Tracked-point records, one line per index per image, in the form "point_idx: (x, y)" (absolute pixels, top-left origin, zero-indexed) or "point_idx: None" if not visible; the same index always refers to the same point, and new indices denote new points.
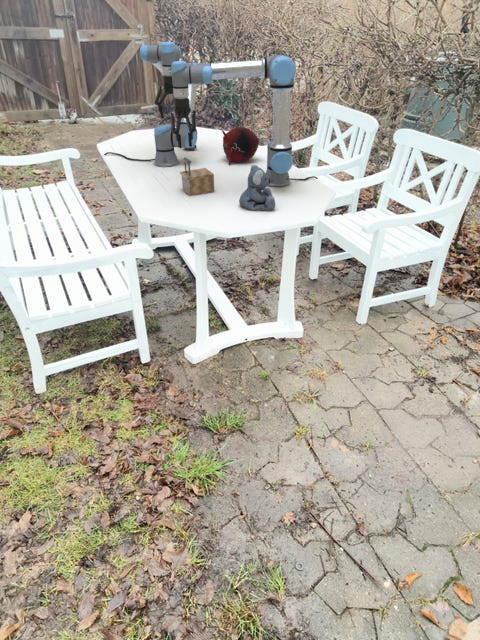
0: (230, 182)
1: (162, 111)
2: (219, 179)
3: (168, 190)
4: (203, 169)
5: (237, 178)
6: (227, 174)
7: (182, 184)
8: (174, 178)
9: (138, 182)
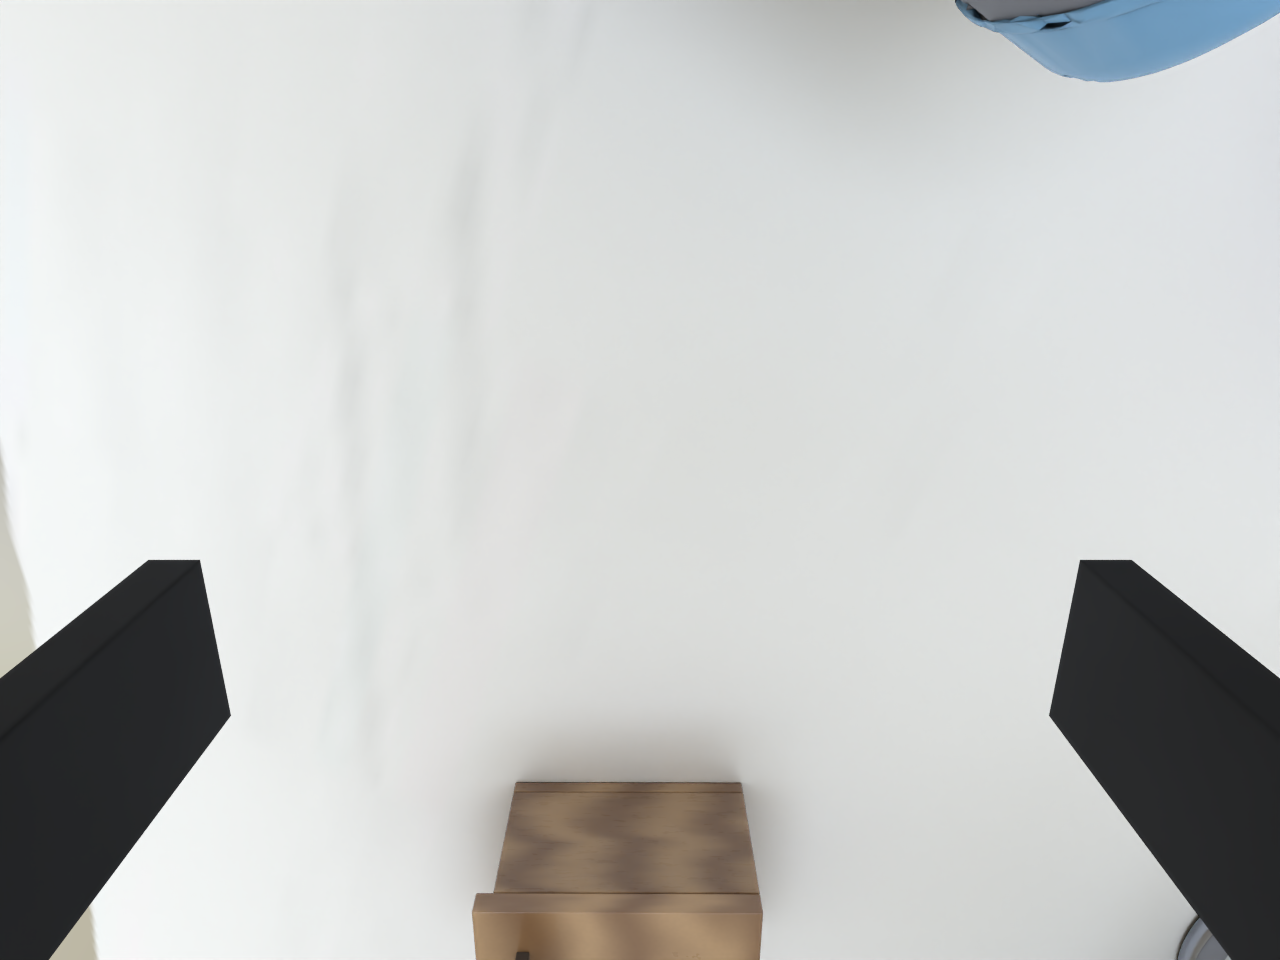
0: (975, 793)
1: (78, 906)
2: (937, 683)
3: (391, 753)
4: (722, 944)
5: None
6: None
7: (508, 820)
8: (543, 460)
9: (141, 416)
